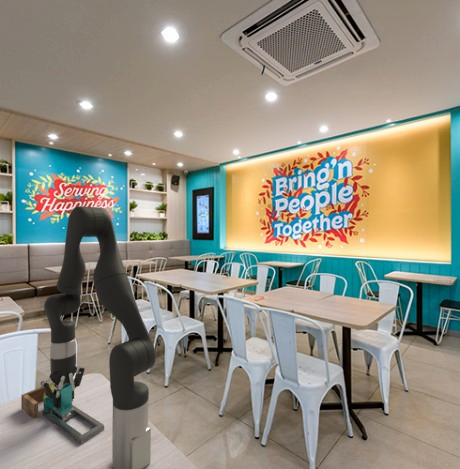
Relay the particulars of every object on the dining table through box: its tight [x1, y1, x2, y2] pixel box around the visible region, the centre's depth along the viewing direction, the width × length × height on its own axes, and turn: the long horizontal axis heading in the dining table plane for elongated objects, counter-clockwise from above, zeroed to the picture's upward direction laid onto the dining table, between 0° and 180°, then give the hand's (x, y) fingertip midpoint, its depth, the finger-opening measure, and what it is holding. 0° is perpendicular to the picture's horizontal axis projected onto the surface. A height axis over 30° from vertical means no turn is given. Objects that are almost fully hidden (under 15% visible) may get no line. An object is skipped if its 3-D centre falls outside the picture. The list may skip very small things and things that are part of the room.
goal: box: [20, 381, 54, 420], centre depth 103 cm, size 9×12×5 cm
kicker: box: [43, 383, 76, 422], centre depth 98 cm, size 8×8×10 cm
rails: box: [41, 404, 105, 445], centre depth 95 cm, size 24×7×2 cm, turn 57°
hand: (64, 404), depth 97 cm, fingers closed on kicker, 3 cm apart
